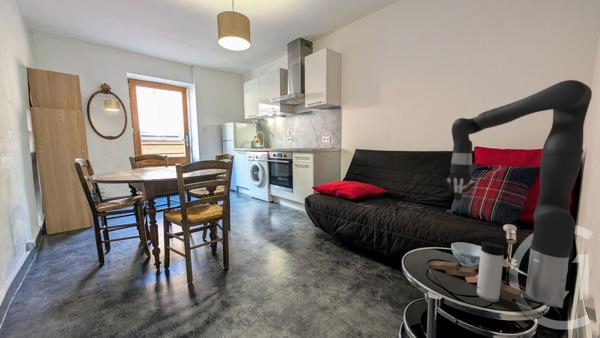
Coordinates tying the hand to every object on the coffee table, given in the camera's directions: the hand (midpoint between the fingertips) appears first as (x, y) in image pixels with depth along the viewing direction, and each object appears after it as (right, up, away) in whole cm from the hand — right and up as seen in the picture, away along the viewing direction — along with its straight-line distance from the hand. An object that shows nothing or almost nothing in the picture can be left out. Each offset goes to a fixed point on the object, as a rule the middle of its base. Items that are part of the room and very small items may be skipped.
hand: (458, 200), depth 107 cm
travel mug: (-6, -31, -24) cm, 40 cm away
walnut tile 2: (-9, -29, -7) cm, 31 cm away
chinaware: (+5, -30, -1) cm, 30 cm away
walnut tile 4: (-2, -31, -16) cm, 35 cm away
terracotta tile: (-5, -29, -13) cm, 32 cm away
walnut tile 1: (-13, -28, -3) cm, 31 cm away
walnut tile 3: (-1, -29, -18) cm, 34 cm away
